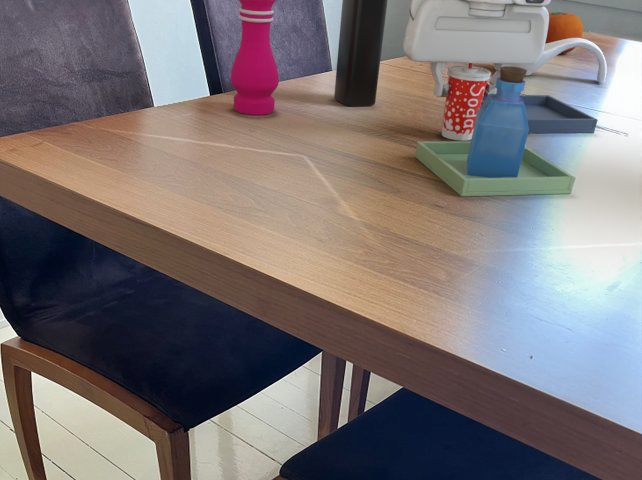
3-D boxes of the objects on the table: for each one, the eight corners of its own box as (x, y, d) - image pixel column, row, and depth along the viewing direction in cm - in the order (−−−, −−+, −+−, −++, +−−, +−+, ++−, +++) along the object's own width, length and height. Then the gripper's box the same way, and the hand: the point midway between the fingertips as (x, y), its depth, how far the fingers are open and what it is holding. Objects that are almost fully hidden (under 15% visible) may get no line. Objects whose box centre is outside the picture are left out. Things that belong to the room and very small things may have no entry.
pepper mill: (237, 101, 116) (239, -51, 103) (282, 107, 115) (289, -46, 103) (224, 112, 110) (224, -47, 98) (271, 118, 109) (277, -42, 97)
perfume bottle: (516, 181, 93) (541, 77, 85) (467, 175, 93) (488, 71, 86) (513, 166, 98) (537, 67, 90) (467, 160, 98) (487, 61, 91)
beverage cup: (443, 141, 106) (463, 32, 98) (431, 129, 111) (449, 24, 102) (483, 142, 107) (506, 34, 99) (469, 130, 112) (490, 26, 103)
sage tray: (514, 155, 103) (517, 140, 102) (571, 193, 92) (575, 177, 91) (414, 156, 100) (417, 141, 98) (461, 196, 88) (464, 179, 87)
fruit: (575, 51, 175) (585, 12, 170) (578, 59, 167) (589, 19, 162) (530, 45, 176) (539, 7, 171) (531, 53, 168) (540, 13, 163)
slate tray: (545, 107, 128) (549, 95, 126) (594, 132, 116) (598, 119, 115) (466, 107, 124) (469, 94, 123) (508, 133, 112) (511, 119, 111)
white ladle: (485, 74, 146) (493, 34, 141) (485, 63, 155) (492, 25, 150) (606, 89, 143) (618, 48, 139) (599, 76, 152) (610, 38, 148)
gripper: (422, -17, 92) (405, 101, 101) (564, -9, 97) (536, 102, 106) (404, -23, 97) (389, 90, 106) (540, -16, 102) (516, 91, 111)
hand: (464, 96), depth 106 cm, fingers open, 6 cm apart
